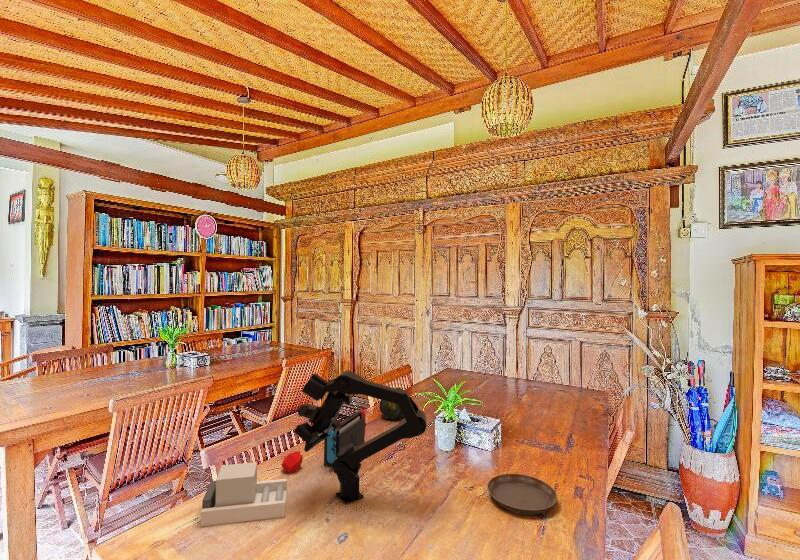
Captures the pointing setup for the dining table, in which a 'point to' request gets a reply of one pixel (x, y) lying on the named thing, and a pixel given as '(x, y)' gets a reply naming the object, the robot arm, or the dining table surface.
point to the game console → (345, 436)
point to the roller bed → (251, 506)
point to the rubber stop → (210, 496)
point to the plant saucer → (522, 493)
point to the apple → (292, 462)
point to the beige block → (236, 484)
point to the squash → (390, 409)
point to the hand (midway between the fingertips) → (305, 450)
